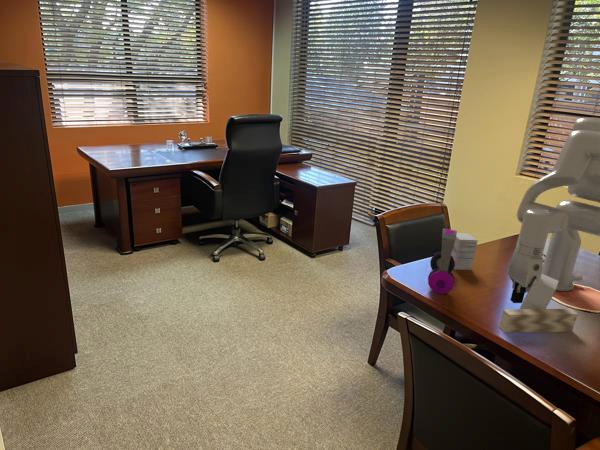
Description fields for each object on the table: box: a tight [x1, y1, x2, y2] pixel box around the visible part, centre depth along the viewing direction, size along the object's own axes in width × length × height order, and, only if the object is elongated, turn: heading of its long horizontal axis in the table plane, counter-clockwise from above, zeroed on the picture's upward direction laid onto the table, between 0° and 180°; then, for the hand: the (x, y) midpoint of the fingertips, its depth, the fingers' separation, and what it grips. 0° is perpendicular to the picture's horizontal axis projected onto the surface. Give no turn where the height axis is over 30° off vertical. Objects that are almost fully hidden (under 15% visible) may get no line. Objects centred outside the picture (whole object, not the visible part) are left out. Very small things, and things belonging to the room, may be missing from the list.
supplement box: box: [451, 232, 478, 271], centre depth 173 cm, size 7×7×13 cm
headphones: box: [427, 228, 458, 295], centre depth 156 cm, size 21×9×20 cm, turn 162°
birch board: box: [498, 308, 578, 333], centre depth 133 cm, size 22×3×6 cm, turn 97°
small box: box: [519, 274, 559, 309], centre depth 138 cm, size 8×6×13 cm
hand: (516, 301), depth 143 cm, fingers closed
